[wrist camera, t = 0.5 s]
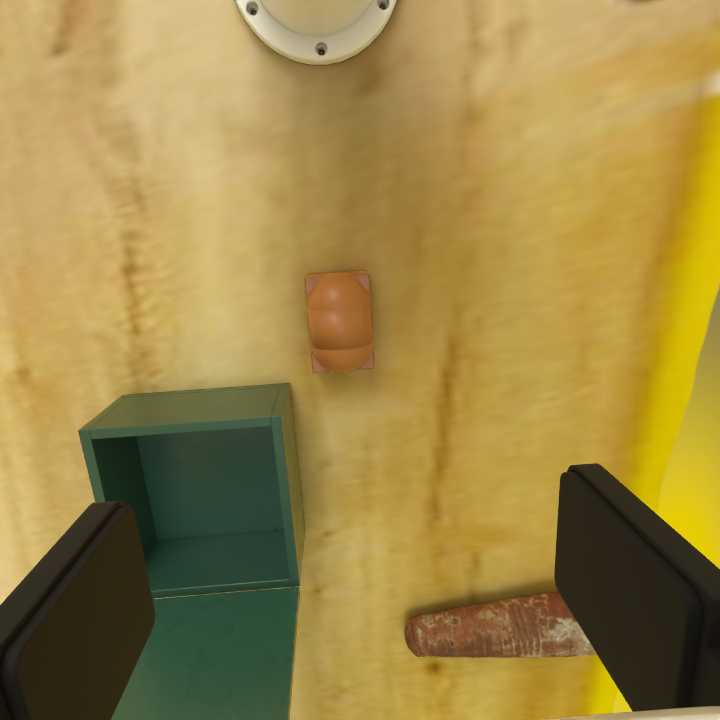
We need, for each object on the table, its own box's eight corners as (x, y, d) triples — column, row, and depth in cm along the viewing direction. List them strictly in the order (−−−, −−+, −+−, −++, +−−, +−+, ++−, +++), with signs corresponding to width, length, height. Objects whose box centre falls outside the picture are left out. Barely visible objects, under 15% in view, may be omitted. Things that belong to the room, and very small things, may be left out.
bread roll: (306, 271, 41) (302, 278, 36) (366, 268, 41) (371, 273, 36) (314, 365, 43) (312, 383, 38) (371, 361, 43) (376, 379, 38)
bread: (573, 622, 53) (600, 668, 47) (403, 641, 52) (411, 688, 47) (576, 575, 51) (604, 617, 45) (400, 594, 50) (408, 638, 45)
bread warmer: (122, 394, 43) (77, 430, 35) (290, 382, 43) (280, 415, 36) (153, 541, 47) (119, 601, 40) (305, 529, 48) (299, 586, 40)
